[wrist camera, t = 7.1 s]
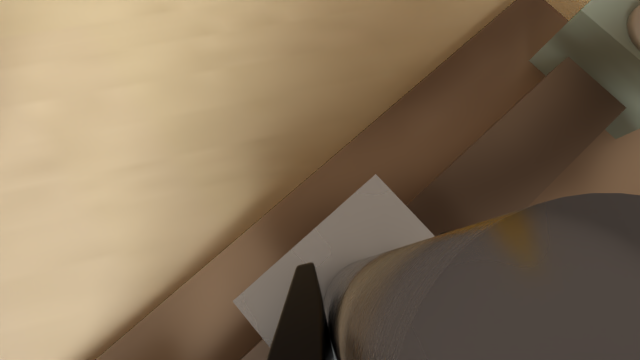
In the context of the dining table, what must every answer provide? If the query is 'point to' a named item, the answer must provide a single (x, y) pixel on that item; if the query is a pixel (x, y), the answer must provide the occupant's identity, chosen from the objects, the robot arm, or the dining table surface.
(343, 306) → the carriage
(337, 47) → the dining table surface
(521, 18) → the board
